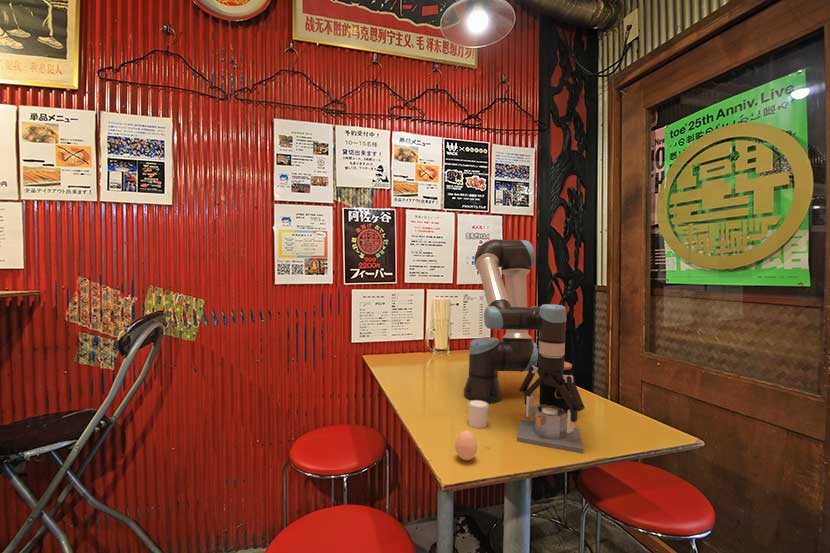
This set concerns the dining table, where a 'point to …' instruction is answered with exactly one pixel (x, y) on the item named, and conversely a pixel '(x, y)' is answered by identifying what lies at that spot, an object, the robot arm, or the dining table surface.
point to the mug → (549, 423)
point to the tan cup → (478, 413)
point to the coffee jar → (555, 392)
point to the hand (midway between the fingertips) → (548, 423)
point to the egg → (466, 445)
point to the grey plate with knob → (567, 443)
